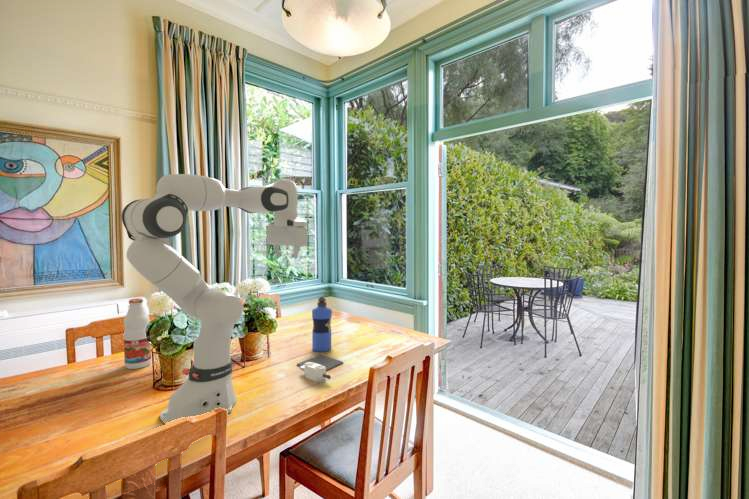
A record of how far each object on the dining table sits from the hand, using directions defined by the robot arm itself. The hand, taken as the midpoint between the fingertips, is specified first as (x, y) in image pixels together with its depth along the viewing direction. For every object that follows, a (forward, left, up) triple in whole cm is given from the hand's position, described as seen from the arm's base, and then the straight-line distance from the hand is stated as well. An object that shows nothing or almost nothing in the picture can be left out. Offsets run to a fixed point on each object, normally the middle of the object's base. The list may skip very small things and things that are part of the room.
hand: (286, 257), depth 141 cm
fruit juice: (-33, +55, -47) cm, 80 cm away
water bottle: (+29, +9, -47) cm, 56 cm away
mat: (+15, -4, -47) cm, 50 cm away
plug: (+4, -12, -47) cm, 49 cm away
